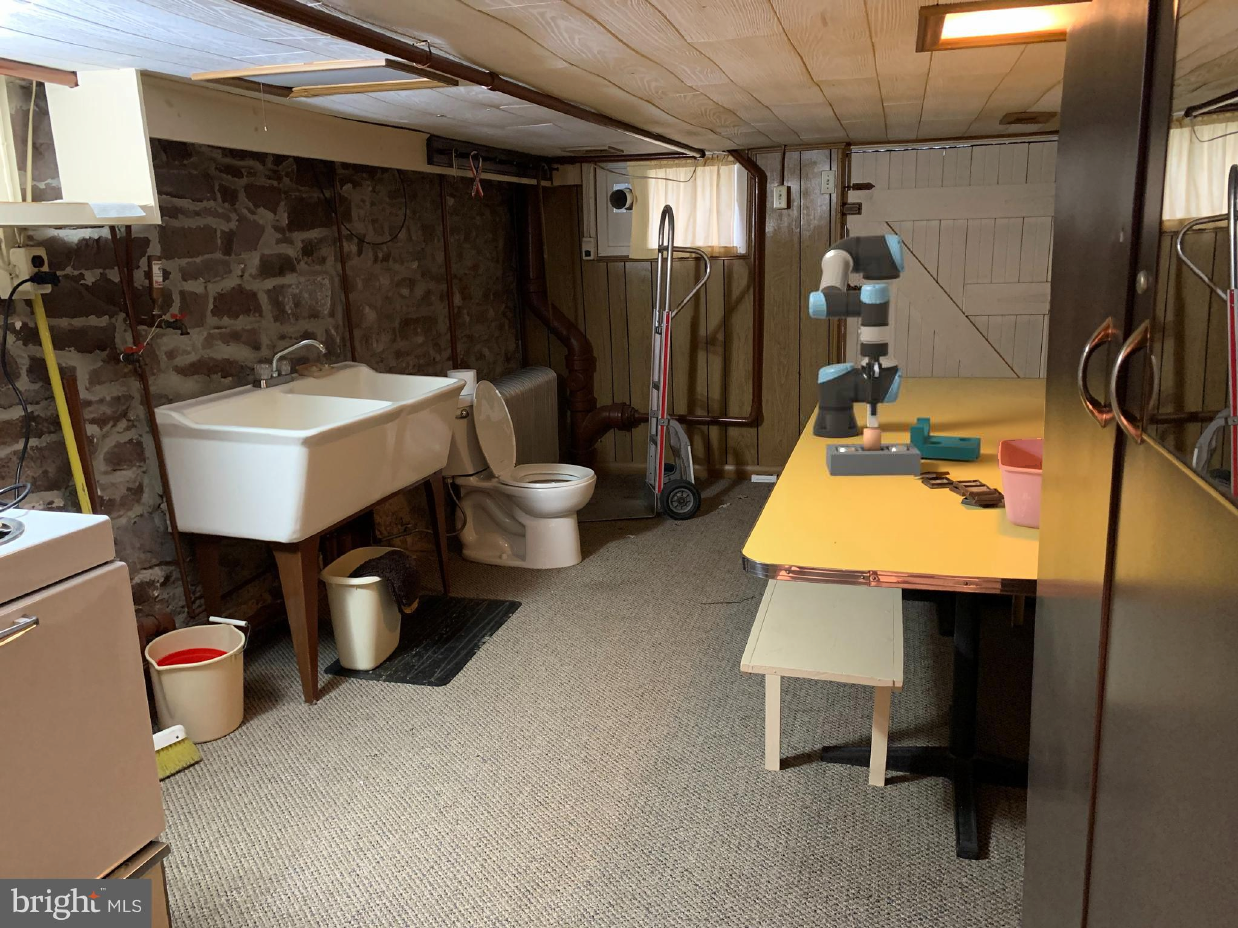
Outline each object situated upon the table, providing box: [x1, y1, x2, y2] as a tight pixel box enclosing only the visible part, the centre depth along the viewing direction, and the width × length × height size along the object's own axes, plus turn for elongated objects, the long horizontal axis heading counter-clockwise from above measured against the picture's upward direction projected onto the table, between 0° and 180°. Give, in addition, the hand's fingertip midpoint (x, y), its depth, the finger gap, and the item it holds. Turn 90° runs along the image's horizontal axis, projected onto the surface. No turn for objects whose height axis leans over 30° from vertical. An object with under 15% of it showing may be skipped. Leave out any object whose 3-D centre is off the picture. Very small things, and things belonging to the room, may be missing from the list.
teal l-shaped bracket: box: [909, 416, 982, 461], centre depth 275 cm, size 18×11×10 cm, turn 62°
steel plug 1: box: [838, 445, 855, 451], centre depth 266 cm, size 5×5×6 cm
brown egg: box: [862, 427, 882, 451], centre depth 264 cm, size 5×5×6 cm
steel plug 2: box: [889, 445, 907, 451], centre depth 264 cm, size 5×5×6 cm
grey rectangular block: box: [825, 442, 922, 477], centre depth 265 cm, size 14×24×6 cm, turn 83°
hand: (872, 426), depth 263 cm, fingers closed
